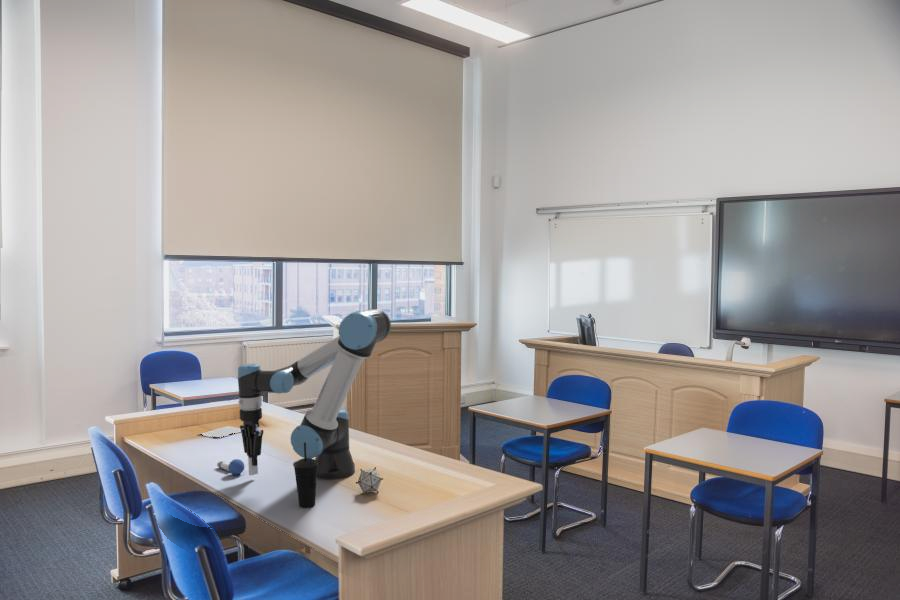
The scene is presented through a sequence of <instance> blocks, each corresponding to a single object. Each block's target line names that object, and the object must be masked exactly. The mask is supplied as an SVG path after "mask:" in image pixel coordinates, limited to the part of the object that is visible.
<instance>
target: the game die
mask: <svg viewBox="0 0 900 600" xmlns="http://www.w3.org/2000/svg"><path fill="white" fill-rule="evenodd" d="M376 469H377V466H374V469H373V468H372V469H365V470H363V468H360V471H361V472H360V473H359V477H358V481H356V482H355V484H356V485H359V487H360V489H361V491H362V496H364V495H365V494H366V493H367V494H368V493H373V492H374V493H375V492H376V493H378V494H379V491H378V490H379V487H380V484H381V481H383V480H384V478H383V477H382V478H381V476H380V474H379V473H378V471H377V470H376Z"/></svg>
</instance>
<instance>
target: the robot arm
mask: <svg viewBox="0 0 900 600" xmlns="http://www.w3.org/2000/svg"><path fill="white" fill-rule="evenodd" d="M391 329H392V323H391V318H390V317H389V315H388V314H387V313H386V312H385V311H383V310H381V309H377V308H369V309H366V310H356V311H354V312H351V313H349V314H348V315H346V316H345V317H344V318H343V319H342V321H341V322H340V324H339V326H338V336H337V337H334V339H332V340H330V341H328V342H327V343H324V344H323V345H322V346H320V347H318V348H317V349H314V350H313V351H312V352H310V353H308V354H307V355H305V356H303V357H302V358H300V359H298V360H297V361H295V362H293V363H292V364H290V365H287V366H283V367H281V368H278V369H276V370H261V367H260V364H258V363H245V364H241V365H239V366H238V368H237V383H238V385H237V387H238V405H239V420H240V421H242V422H243V424H241V425H240V426H239V428H240V429H241V432H240V433H241V438H242V444H243V451H244V454H246V455H247V461H248V475H249V476H255V475H258V474H259V467H258V465H259V464H258V456H261V454H262V443H263V436H264V429H260V420H261V419H263V409H262V405H263V404H262V403H263V402H262V393H269V394H278V395H279V394H287V393H289V392H291V390H292V389H293V387H295V386H299V385H303V383H305V382H306V381H307V380H308V379H310V378H311V377H313V376H315V375H317V374H318V373H320V372H322V371H323V370H325V369H327V368H329V367H331V368H330V370H329V372H328V373H327V377H326V378H325V381H324V382H323V385H322V388H321V389H320V392H319V393H318V396H317V399H316V401H315V403H314V405H313V407H312V409H308V410H307V411H306V412H305V414H304V416H303V418H302V421H301V423H300V424H299V425H298V426H296V427H295V428H294V429H293V430H292V432H291V435H290V444H291V446H292V449H293V451H294V452H295V453H296V455H298V456H299V457H301V458H302V459H303V458H304V443H305V442H306V456H307V458H311V459H314V460H317V461H318V464H317V477H316V479H320V480H337V479H343V478H347V477H350V476H351V475H353V474H355V472H356V465H355V463H354V460H353V456H352V453H351V451H350V426H349V425H350V424H349V423H350V422H349V421H350V418H349V413H348V411H347V410H345V409H342V406H343V404H344V402H345V400H346V398H347V396H348V394H349V391H350V390H351V387H352V385H353V383H354V381H355V379H356V377H357V375H358V371H360V369H361V368H360V367H361V366H362V364H363V362H364V360H365V359H369V358H370V356H371V354H372V352H373V351H374V348H375V346H376V345H377V344H378V343H380V342H382V341H384V340H385V339H386V338H387V337H388V336H389V334H390V332H391Z"/></svg>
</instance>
